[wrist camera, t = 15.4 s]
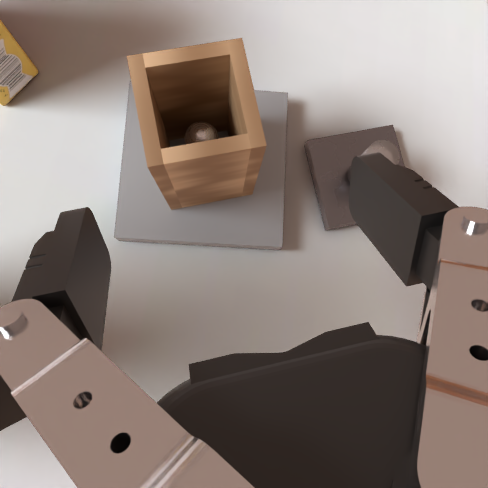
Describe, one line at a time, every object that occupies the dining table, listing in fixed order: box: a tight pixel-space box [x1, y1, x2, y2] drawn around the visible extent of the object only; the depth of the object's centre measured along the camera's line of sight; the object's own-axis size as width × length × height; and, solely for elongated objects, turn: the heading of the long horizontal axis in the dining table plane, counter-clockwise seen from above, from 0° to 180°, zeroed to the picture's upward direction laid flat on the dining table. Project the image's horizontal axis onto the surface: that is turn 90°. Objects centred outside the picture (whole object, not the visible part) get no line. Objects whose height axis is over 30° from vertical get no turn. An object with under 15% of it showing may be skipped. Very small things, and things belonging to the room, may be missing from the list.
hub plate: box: [114, 81, 288, 250], centre depth 26 cm, size 12×12×7 cm
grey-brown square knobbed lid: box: [305, 125, 405, 230], centre depth 28 cm, size 7×7×5 cm
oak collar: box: [127, 38, 267, 210], centre depth 24 cm, size 6×6×9 cm
